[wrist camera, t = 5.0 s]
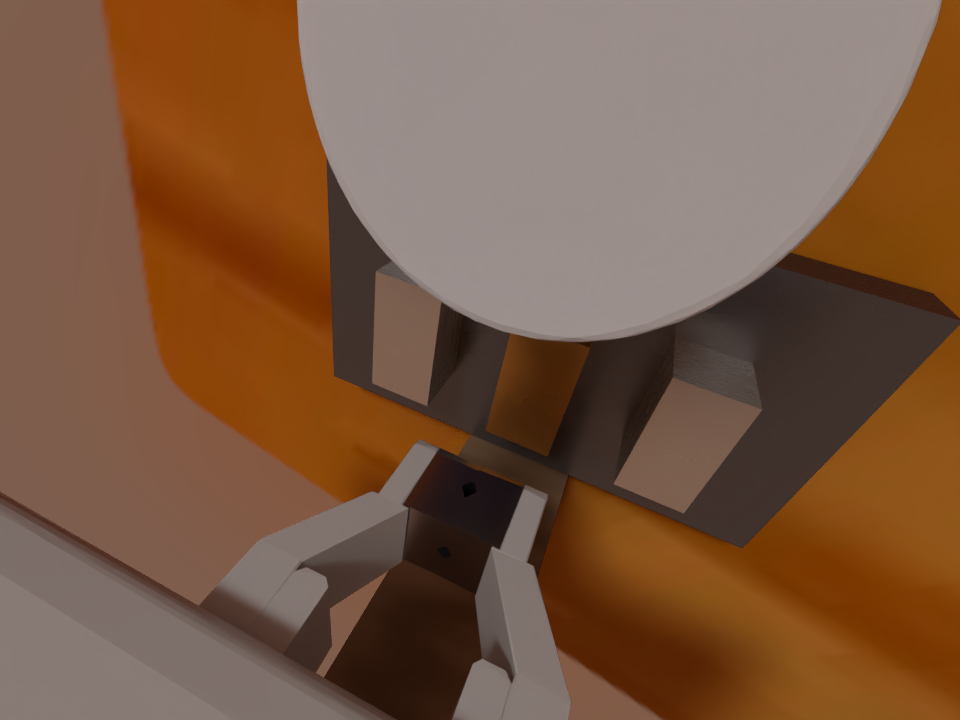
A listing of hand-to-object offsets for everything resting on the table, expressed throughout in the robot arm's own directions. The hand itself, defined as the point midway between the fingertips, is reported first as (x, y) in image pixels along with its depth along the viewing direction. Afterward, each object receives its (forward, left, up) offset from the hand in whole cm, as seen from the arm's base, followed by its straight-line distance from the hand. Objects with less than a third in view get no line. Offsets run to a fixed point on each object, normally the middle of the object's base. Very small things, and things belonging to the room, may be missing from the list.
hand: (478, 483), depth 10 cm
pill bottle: (0, -8, -7) cm, 10 cm away
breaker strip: (0, 0, -7) cm, 7 cm away
